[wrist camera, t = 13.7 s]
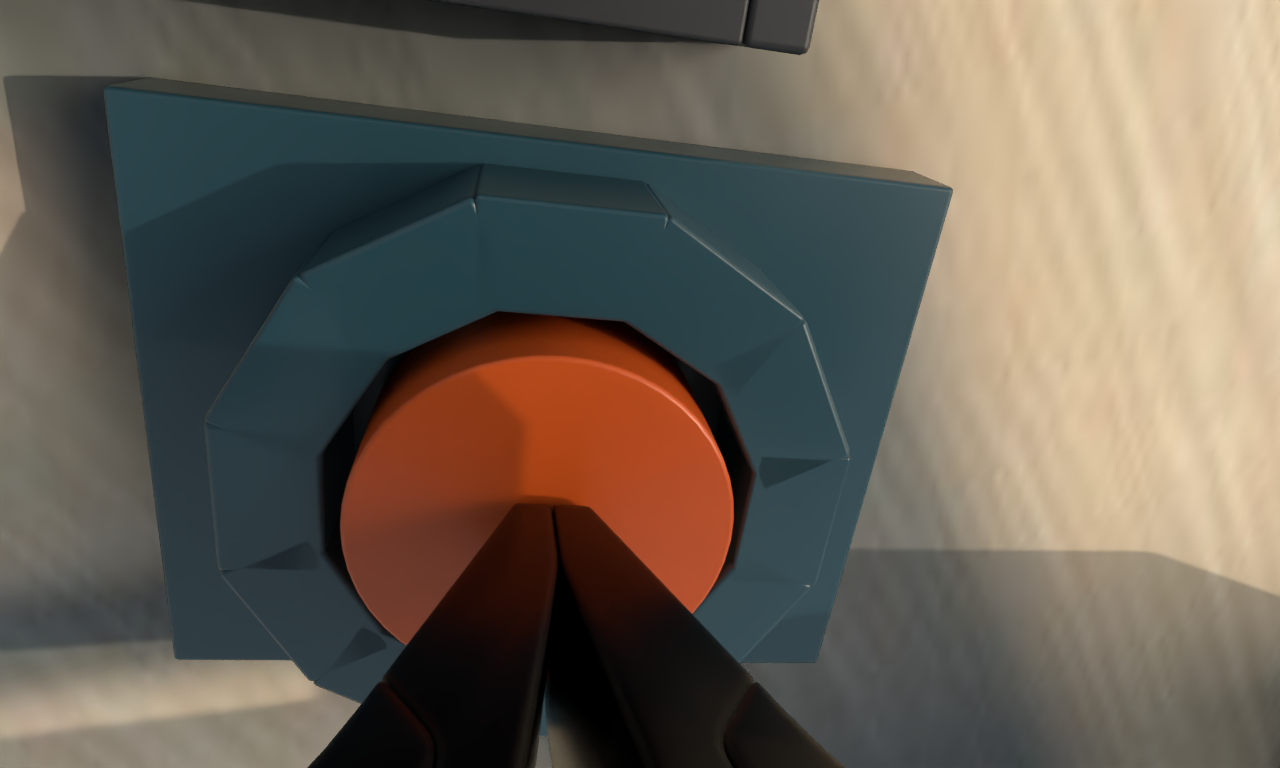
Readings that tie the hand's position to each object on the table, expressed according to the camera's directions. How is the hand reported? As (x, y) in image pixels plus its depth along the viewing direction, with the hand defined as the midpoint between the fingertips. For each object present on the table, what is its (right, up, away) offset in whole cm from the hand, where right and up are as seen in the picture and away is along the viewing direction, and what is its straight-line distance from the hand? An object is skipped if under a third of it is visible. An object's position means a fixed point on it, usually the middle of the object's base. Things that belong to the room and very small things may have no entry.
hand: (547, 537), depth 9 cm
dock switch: (-1, +1, +3) cm, 4 cm away
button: (0, +1, +2) cm, 2 cm away
